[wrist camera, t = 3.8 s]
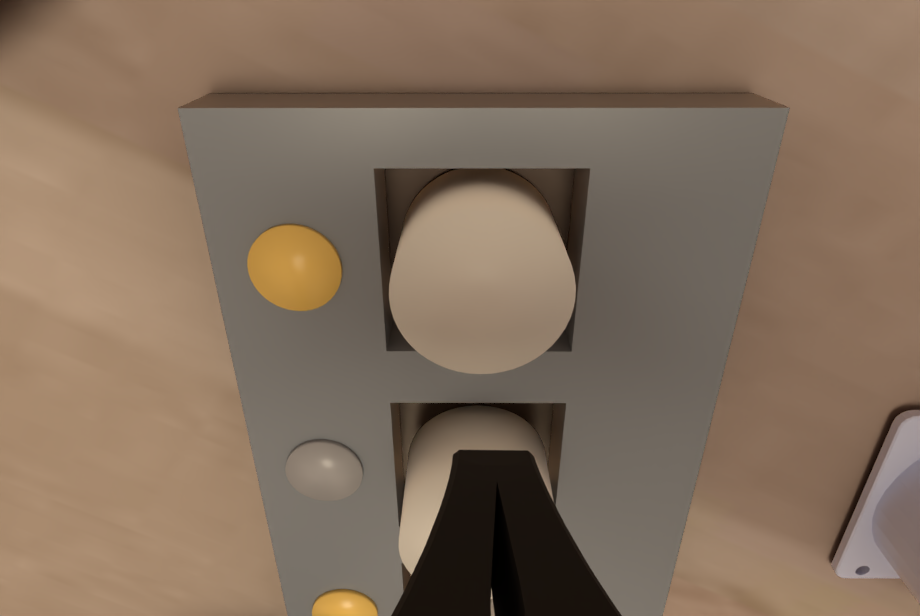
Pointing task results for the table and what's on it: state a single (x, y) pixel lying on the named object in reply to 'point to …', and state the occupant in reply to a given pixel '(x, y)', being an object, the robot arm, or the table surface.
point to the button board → (422, 381)
